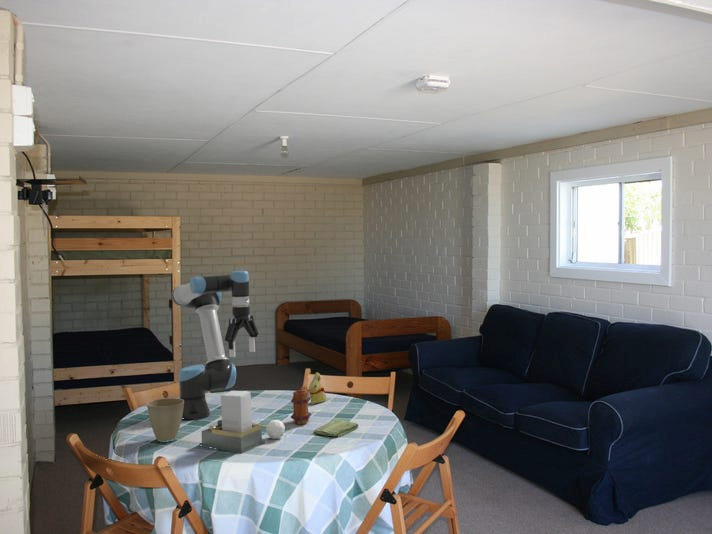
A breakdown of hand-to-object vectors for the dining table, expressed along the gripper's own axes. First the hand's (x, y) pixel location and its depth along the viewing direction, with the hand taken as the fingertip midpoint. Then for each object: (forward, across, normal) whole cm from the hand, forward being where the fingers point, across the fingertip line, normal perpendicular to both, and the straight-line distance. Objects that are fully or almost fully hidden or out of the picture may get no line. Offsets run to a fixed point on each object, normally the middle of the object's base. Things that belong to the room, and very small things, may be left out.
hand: (242, 354), depth 300 cm
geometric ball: (+32, -10, -24) cm, 41 cm away
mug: (+32, +16, -20) cm, 41 cm away
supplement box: (+26, -24, -16) cm, 39 cm away
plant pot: (+32, -31, +16) cm, 47 cm away
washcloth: (+32, +10, -42) cm, 54 cm away
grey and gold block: (+32, -24, -13) cm, 42 cm away
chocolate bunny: (+32, +48, -8) cm, 58 cm away
